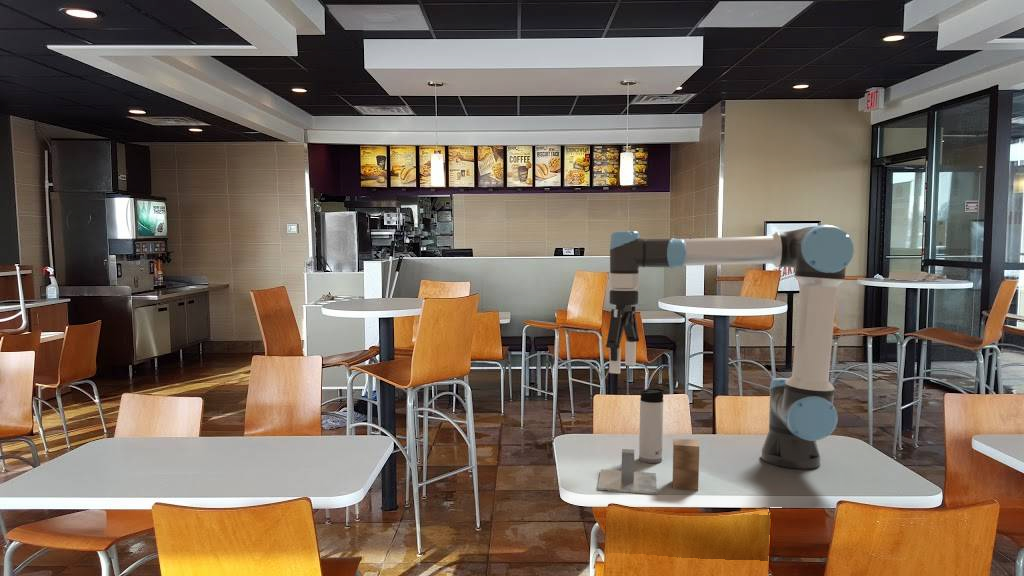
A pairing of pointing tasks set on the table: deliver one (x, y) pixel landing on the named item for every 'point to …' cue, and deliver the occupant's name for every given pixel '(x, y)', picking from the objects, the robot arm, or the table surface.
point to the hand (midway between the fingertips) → (622, 369)
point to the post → (627, 477)
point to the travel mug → (651, 425)
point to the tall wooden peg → (685, 464)
